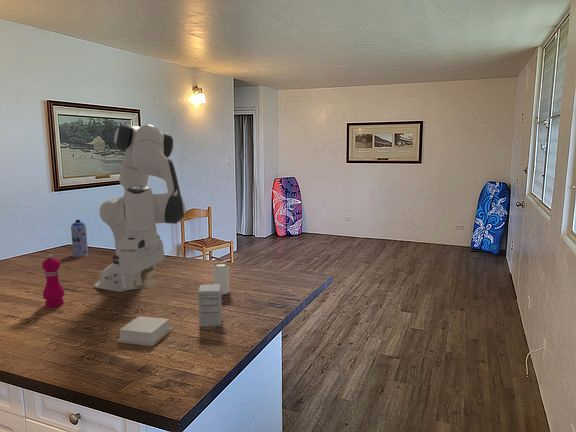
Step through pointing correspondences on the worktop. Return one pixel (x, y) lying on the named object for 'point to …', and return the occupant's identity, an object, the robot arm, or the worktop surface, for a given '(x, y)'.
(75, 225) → the aerosol can
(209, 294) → the supplement box
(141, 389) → the worktop surface
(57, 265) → the pepper mill
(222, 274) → the can
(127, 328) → the pedestal
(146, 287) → the maple block
